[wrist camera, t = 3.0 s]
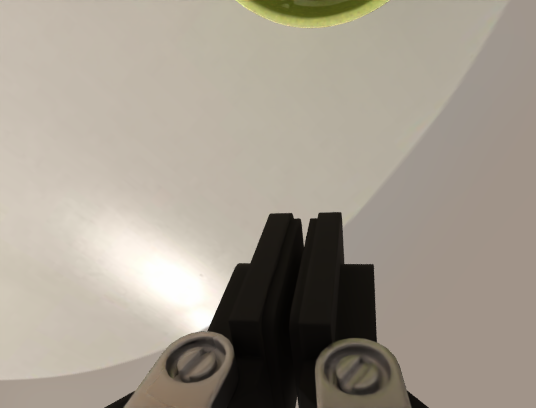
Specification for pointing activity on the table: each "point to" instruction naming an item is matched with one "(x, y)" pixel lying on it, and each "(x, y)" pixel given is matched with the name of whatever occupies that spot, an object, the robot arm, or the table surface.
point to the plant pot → (312, 11)
